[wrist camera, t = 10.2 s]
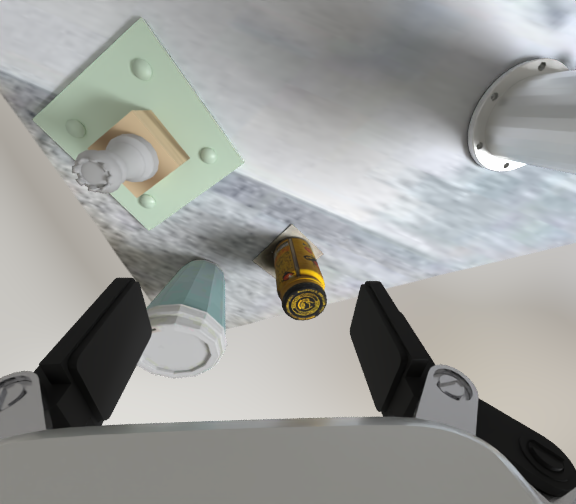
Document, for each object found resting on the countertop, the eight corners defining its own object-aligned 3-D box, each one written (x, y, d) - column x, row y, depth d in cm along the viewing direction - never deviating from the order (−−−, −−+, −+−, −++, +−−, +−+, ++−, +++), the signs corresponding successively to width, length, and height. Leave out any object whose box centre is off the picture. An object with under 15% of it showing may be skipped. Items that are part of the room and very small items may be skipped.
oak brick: (151, 110, 28) (131, 110, 24) (190, 158, 31) (179, 166, 26) (112, 142, 29) (87, 148, 25) (153, 186, 32) (136, 198, 28)
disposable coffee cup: (246, 292, 42) (240, 373, 29) (185, 310, 43) (153, 398, 30) (219, 237, 37) (198, 307, 24) (151, 259, 38) (94, 338, 25)
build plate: (144, 19, 25) (139, 16, 24) (244, 161, 32) (244, 163, 31) (37, 119, 28) (29, 119, 27) (151, 228, 35) (148, 232, 34)
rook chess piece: (166, 149, 26) (132, 164, 19) (152, 187, 27) (116, 214, 20) (119, 123, 24) (63, 128, 17) (106, 165, 26) (50, 186, 19)
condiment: (323, 253, 40) (345, 303, 30) (284, 285, 43) (293, 342, 32) (292, 223, 37) (304, 267, 27) (252, 259, 40) (249, 313, 29)
